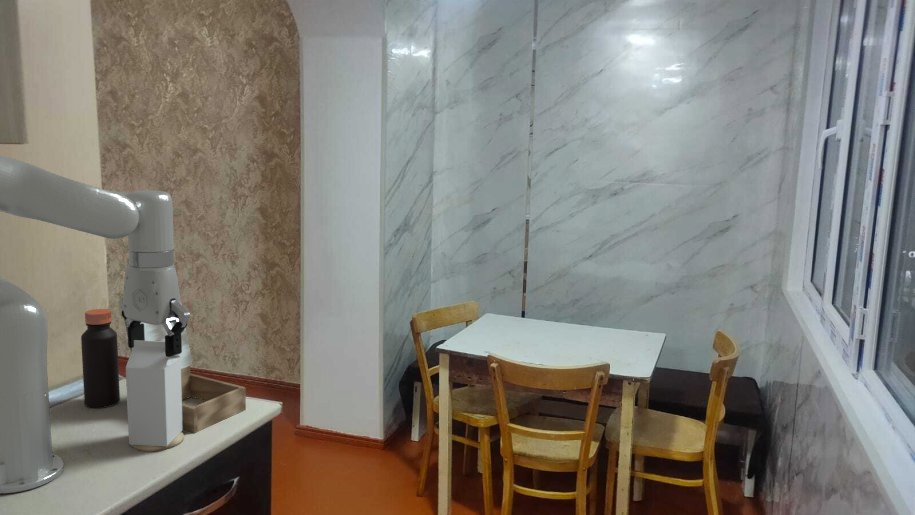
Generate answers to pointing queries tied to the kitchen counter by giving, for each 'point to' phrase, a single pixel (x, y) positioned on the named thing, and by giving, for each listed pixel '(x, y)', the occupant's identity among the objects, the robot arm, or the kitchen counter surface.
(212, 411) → the box
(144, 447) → the coaster
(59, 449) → the kitchen counter surface
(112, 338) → the bottle
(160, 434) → the milk carton
